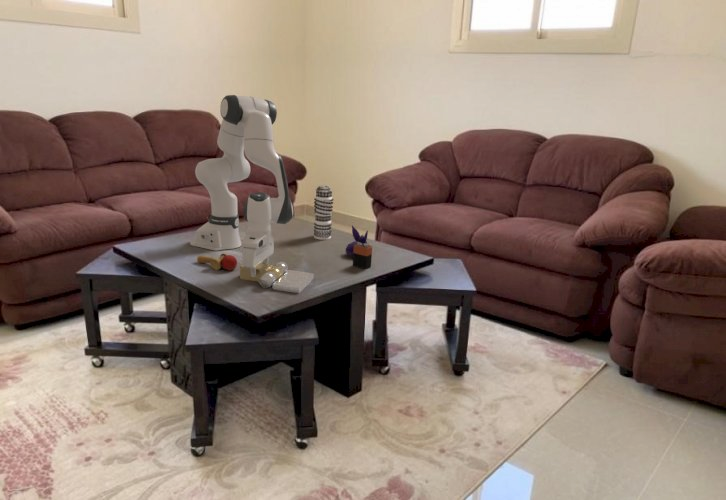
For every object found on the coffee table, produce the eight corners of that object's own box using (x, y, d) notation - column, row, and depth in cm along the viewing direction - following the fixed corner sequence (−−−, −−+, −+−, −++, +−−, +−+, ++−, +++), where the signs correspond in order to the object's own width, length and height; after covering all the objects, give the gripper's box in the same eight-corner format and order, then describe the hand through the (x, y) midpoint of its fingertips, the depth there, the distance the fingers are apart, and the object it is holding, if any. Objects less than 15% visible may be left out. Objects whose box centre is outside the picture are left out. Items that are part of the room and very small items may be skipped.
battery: (365, 269, 215) (367, 246, 212) (352, 265, 218) (353, 242, 215) (371, 266, 218) (372, 243, 215) (357, 263, 222) (359, 240, 219)
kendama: (192, 268, 208) (228, 271, 200) (192, 253, 207) (228, 255, 200) (206, 266, 215) (241, 269, 207) (205, 251, 214) (241, 253, 207)
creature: (375, 250, 240) (376, 224, 236) (358, 261, 224) (359, 233, 220) (357, 247, 243) (359, 221, 240) (339, 257, 228) (341, 230, 224)
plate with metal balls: (299, 293, 187) (299, 280, 185) (258, 287, 190) (258, 274, 189) (313, 278, 202) (314, 266, 200) (276, 272, 205) (276, 260, 204)
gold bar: (277, 284, 194) (277, 271, 192) (240, 278, 197) (240, 266, 195) (283, 279, 199) (283, 266, 198) (247, 273, 203) (247, 261, 201)
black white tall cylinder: (331, 240, 251) (333, 189, 243) (312, 239, 250) (313, 187, 243) (332, 235, 259) (334, 185, 252) (313, 234, 259) (315, 184, 251)
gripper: (263, 229, 204) (262, 262, 208) (238, 243, 185) (239, 279, 189) (278, 231, 202) (277, 264, 207) (255, 245, 183) (255, 282, 188)
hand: (259, 272), depth 198 cm, fingers open, 8 cm apart
